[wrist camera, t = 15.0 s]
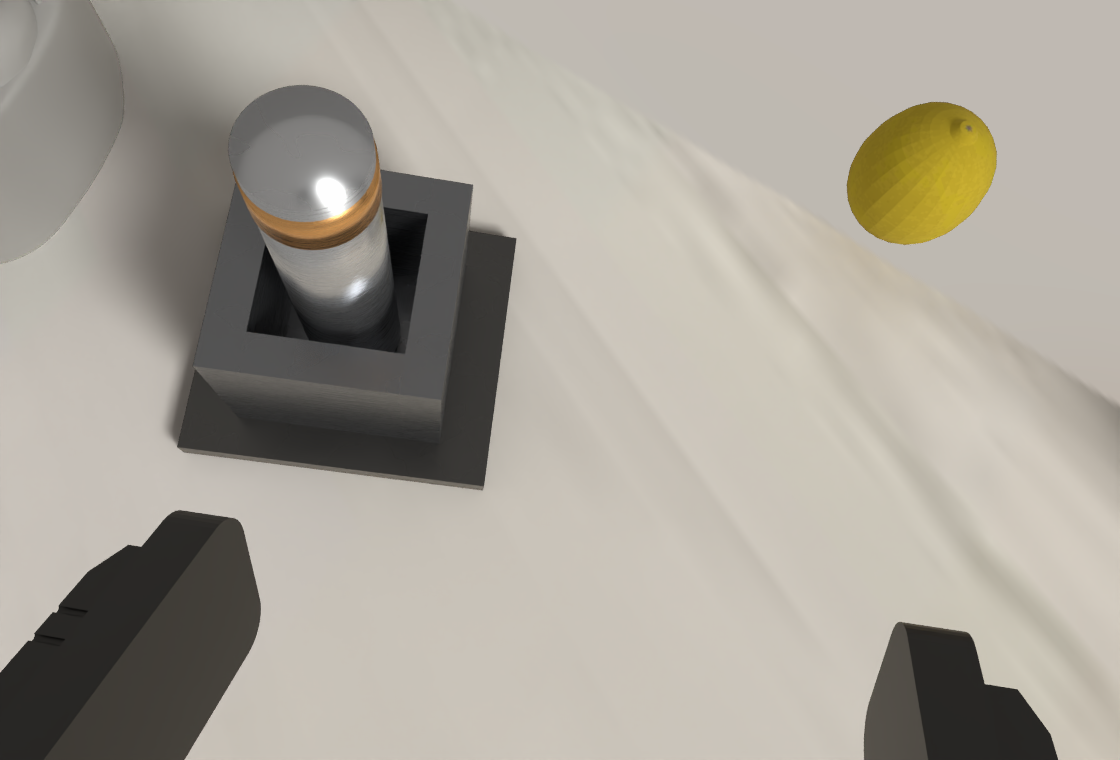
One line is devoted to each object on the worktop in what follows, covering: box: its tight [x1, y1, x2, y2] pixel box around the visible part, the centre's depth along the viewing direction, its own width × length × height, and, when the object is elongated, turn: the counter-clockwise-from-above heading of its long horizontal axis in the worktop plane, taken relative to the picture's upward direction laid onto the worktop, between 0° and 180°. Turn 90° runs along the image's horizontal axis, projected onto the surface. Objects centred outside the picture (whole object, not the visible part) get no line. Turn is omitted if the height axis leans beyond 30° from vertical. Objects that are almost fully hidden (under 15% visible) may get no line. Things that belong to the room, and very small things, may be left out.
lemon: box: [847, 102, 997, 245], centre depth 39 cm, size 6×6×8 cm
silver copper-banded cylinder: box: [228, 85, 400, 352], centre depth 29 cm, size 4×4×14 cm
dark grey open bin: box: [177, 170, 516, 490], centre depth 34 cm, size 12×11×8 cm
